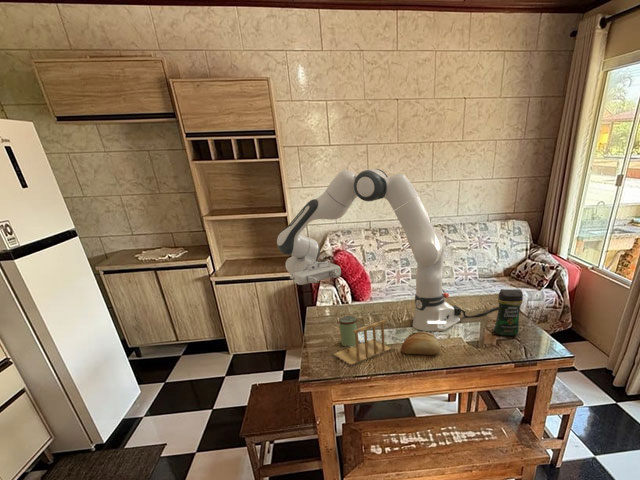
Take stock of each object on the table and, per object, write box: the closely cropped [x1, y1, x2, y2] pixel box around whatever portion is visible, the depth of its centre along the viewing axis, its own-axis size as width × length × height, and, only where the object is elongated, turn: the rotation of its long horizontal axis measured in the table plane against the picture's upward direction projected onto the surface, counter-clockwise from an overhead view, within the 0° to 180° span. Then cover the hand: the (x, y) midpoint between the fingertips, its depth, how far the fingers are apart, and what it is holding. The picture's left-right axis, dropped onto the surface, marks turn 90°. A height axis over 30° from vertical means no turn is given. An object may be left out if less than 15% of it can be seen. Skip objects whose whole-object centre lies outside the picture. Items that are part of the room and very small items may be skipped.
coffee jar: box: [494, 288, 524, 337], centre depth 166 cm, size 10×8×19 cm
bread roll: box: [400, 331, 442, 356], centre depth 155 cm, size 10×15×8 cm, turn 87°
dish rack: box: [333, 319, 392, 365], centre depth 156 cm, size 20×12×13 cm, turn 130°
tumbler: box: [338, 315, 358, 347], centre depth 163 cm, size 7×7×11 cm
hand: (327, 278), depth 162 cm, fingers open, 8 cm apart
